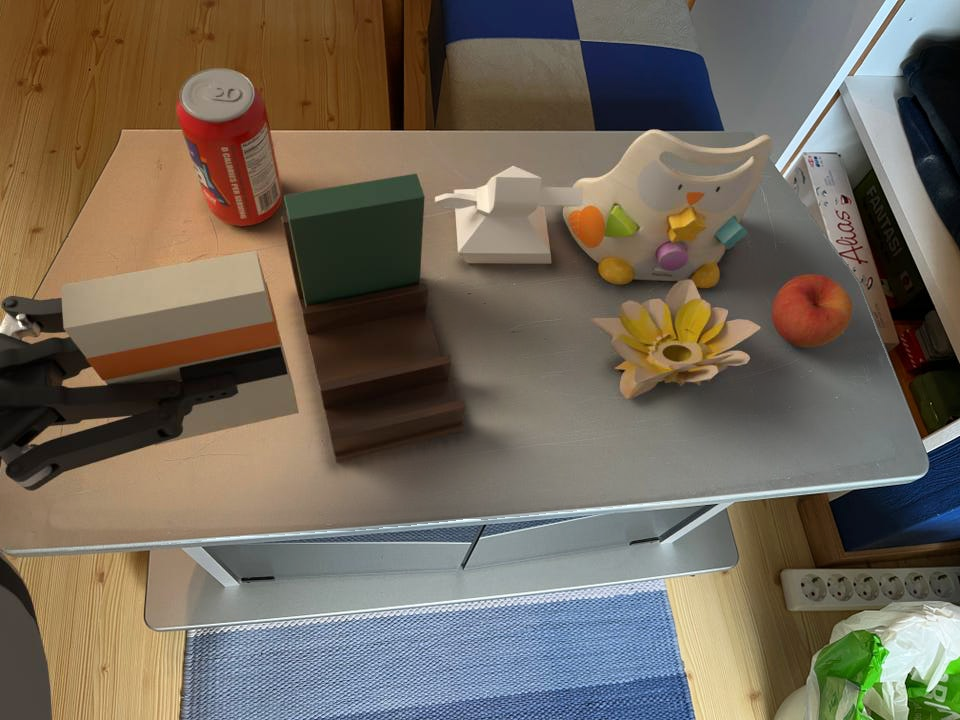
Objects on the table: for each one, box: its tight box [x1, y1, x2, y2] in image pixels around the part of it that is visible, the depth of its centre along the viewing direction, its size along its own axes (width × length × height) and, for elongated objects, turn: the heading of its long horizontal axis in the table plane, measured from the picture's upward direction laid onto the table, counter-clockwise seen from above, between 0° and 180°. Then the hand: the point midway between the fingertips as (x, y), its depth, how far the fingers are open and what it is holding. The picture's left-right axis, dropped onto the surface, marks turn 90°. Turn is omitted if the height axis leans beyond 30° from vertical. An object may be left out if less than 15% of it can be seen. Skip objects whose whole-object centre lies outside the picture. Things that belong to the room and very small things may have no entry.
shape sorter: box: [562, 129, 774, 289], centre depth 75 cm, size 20×10×18 cm, turn 92°
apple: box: [771, 273, 854, 348], centre depth 76 cm, size 7×7×8 cm
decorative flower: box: [590, 279, 761, 400], centre depth 72 cm, size 15×11×10 cm
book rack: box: [280, 214, 467, 463], centre depth 67 cm, size 18×12×13 cm, turn 17°
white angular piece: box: [434, 165, 583, 265], centre depth 75 cm, size 8×14×14 cm, turn 94°
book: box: [60, 250, 300, 446], centre depth 51 cm, size 3×11×18 cm, turn 107°
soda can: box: [176, 67, 283, 227], centre depth 73 cm, size 8×8×15 cm
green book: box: [283, 173, 426, 307], centre depth 67 cm, size 3×11×16 cm, turn 107°
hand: (278, 337), depth 51 cm, fingers closed on book, 3 cm apart
